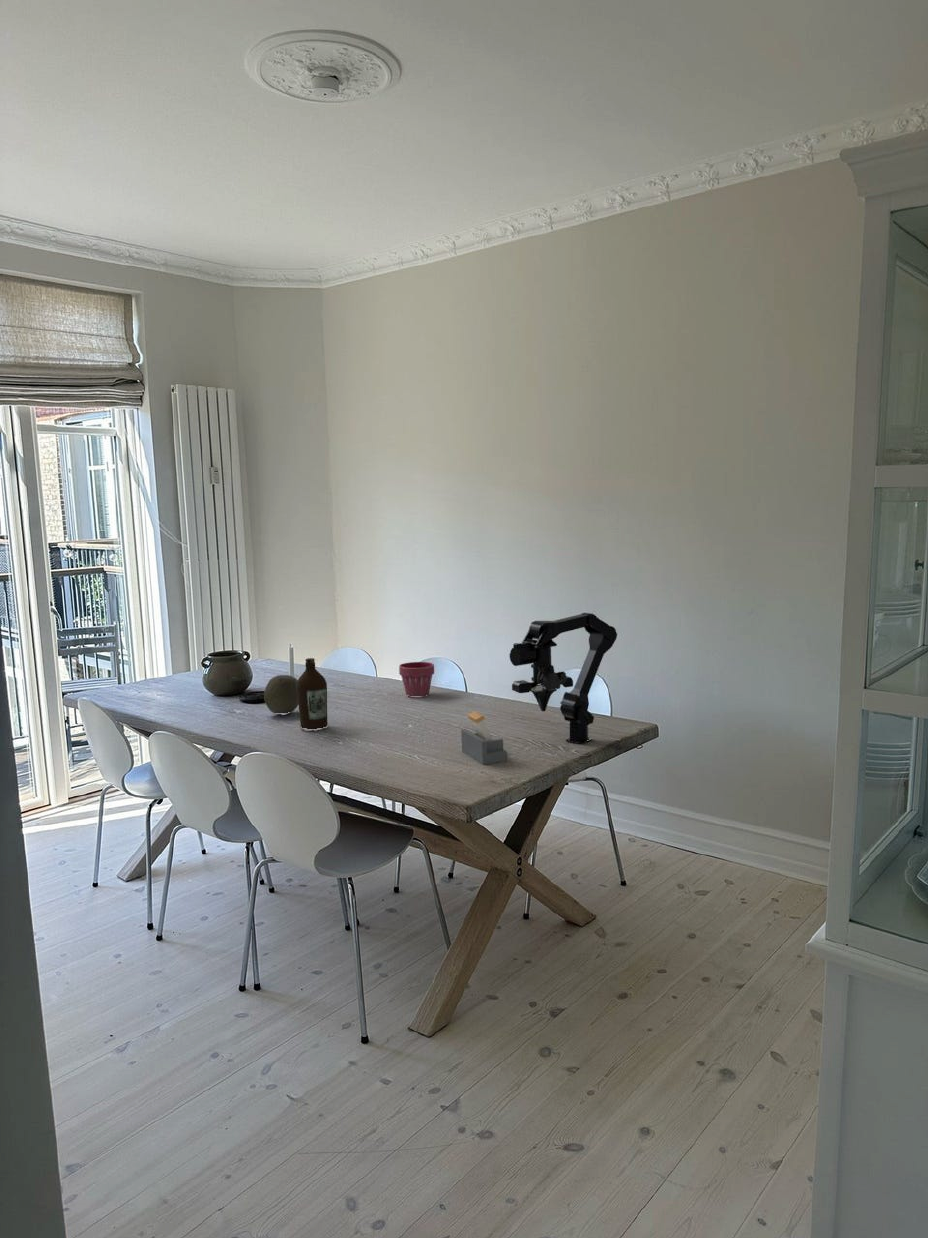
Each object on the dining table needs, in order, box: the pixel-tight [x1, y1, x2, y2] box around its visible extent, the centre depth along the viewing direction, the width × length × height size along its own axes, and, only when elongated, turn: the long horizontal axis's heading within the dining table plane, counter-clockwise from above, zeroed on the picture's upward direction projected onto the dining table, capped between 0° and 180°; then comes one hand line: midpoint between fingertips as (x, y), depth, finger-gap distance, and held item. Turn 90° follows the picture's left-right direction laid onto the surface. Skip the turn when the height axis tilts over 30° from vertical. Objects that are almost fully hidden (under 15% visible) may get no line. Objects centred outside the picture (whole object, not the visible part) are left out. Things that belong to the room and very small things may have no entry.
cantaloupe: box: [263, 674, 299, 714], centre depth 330 cm, size 14×14×15 cm
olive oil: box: [296, 657, 329, 729], centre depth 306 cm, size 11×11×25 cm
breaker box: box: [460, 728, 508, 765], centre depth 266 cm, size 8×16×7 cm, turn 23°
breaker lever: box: [467, 710, 493, 741], centre depth 265 cm, size 3×7×10 cm, turn 23°
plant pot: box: [398, 661, 435, 697], centre depth 353 cm, size 14×14×13 cm
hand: (543, 711), depth 270 cm, fingers closed
